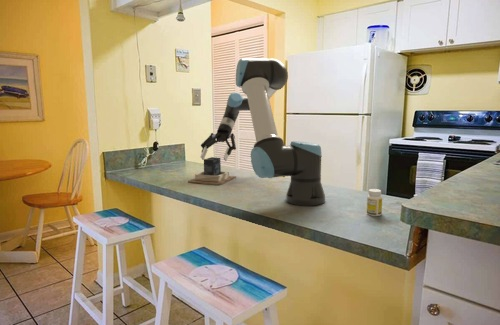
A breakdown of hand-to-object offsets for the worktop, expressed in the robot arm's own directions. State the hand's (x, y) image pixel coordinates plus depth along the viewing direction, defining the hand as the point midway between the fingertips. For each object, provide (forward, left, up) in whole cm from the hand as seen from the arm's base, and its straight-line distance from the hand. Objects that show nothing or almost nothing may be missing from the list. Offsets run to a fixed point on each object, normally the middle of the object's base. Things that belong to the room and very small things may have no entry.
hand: (213, 158), depth 172 cm
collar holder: (-2, -1, -11) cm, 11 cm away
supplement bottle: (-30, -81, -11) cm, 87 cm away
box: (-2, -1, -10) cm, 10 cm away
